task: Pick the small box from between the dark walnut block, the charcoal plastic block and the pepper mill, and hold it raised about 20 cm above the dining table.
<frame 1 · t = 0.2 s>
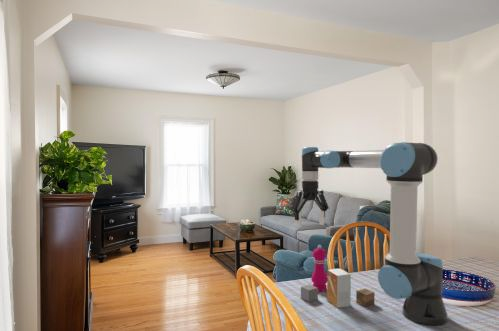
hand: (310, 225, 168), 28 cm above the table, tool pointing down, fingers open, 13 cm apart
charcoal block: (309, 299, 152), on the table
small box: (338, 303, 148), on the table
walnut block: (365, 303, 147), on the table
pepper mill: (319, 289, 164), on the table
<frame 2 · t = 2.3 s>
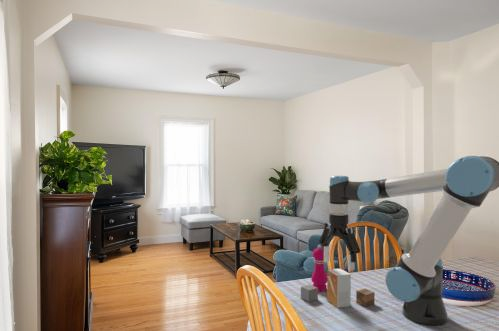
hand: (338, 265, 147), 15 cm above the table, tool pointing down, fingers open, 13 cm apart
nothing on the table moved.
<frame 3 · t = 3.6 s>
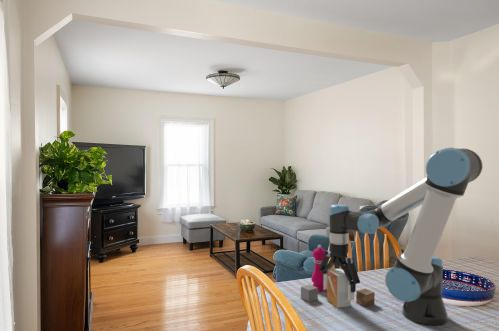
hand: (338, 294, 148), 4 cm above the table, tool pointing down, fingers open, 13 cm apart
nothing on the table moved.
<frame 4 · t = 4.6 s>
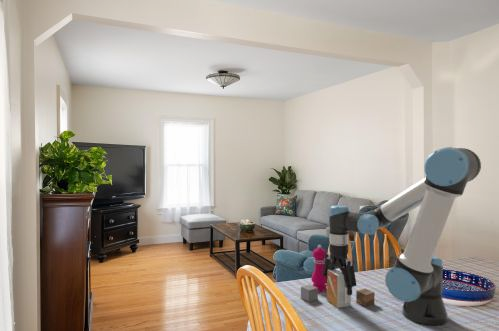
hand: (338, 298, 148), 2 cm above the table, tool pointing down, fingers closed on small box, 9 cm apart
small box: (338, 303, 148), on the table, touching gripper
everything else where it was.
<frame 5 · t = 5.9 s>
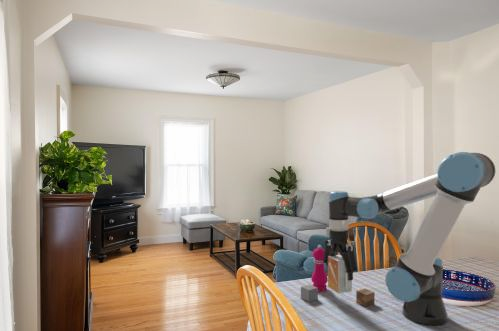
hand: (339, 284, 147), 8 cm above the table, tool pointing down, fingers closed on small box, 9 cm apart
small box: (339, 289, 147), point 6 cm above the table, touching gripper
everything else where it was.
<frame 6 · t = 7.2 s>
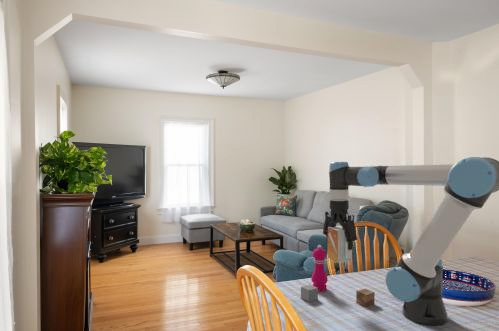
hand: (339, 254, 147), 20 cm above the table, tool pointing down, fingers closed on small box, 9 cm apart
small box: (339, 260, 147), point 18 cm above the table, touching gripper
everything else where it was.
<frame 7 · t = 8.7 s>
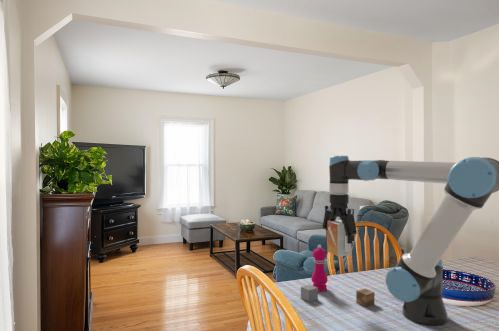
hand: (338, 248, 147), 22 cm above the table, tool pointing down, fingers closed on small box, 9 cm apart
small box: (338, 254, 147), point 20 cm above the table, touching gripper
everything else where it was.
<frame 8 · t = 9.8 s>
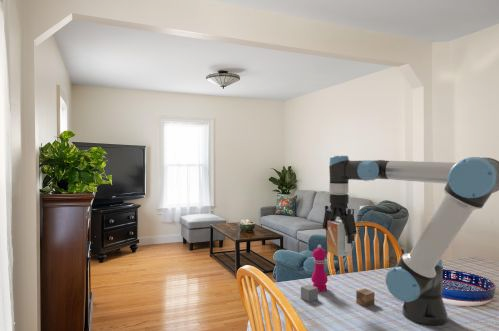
hand: (338, 248, 147), 22 cm above the table, tool pointing down, fingers closed on small box, 9 cm apart
small box: (338, 254, 147), point 20 cm above the table, touching gripper
everything else where it was.
at the end: the gripper is holding small box; small box point 20.2 cm above the table; charcoal block moved 0.1 cm from its start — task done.
